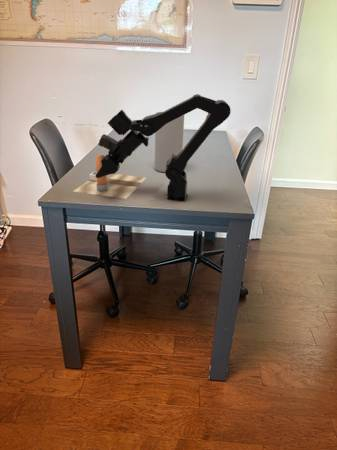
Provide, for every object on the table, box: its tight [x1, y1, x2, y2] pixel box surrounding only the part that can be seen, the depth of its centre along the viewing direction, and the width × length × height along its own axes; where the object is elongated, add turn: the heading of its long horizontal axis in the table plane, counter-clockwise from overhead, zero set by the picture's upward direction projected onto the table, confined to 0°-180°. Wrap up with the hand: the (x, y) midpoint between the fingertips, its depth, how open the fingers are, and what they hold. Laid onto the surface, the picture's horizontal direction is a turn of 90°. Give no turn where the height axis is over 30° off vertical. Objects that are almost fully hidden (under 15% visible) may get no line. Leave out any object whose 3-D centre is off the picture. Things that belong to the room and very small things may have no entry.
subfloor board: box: [73, 173, 147, 200], centre depth 133 cm, size 21×24×2 cm
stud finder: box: [88, 171, 108, 181], centre depth 136 cm, size 6×4×2 cm, turn 76°
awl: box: [95, 154, 108, 192], centre depth 124 cm, size 4×4×13 cm
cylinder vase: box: [154, 111, 185, 174], centre depth 152 cm, size 12×12×25 cm
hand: (99, 173), depth 124 cm, fingers open, 9 cm apart
